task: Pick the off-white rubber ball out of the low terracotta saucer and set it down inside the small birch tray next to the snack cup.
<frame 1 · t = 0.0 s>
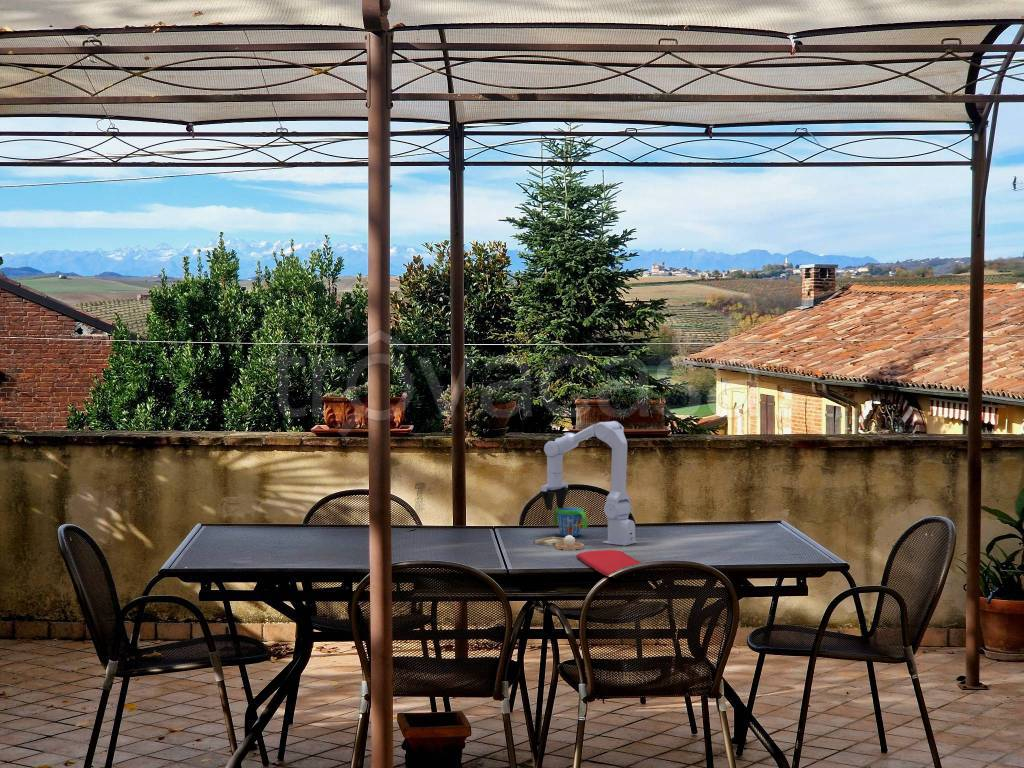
hand: (554, 508, 408), 10 cm above the table, tool pointing down, fingers open, 7 cm apart
snack cup: (569, 536, 408), on the table, touching gripper
tray: (552, 543, 392), on the table
ball: (569, 540, 381), point 2 cm above the table, touching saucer
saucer: (569, 547, 381), on the table
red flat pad: (616, 570, 342), on the table
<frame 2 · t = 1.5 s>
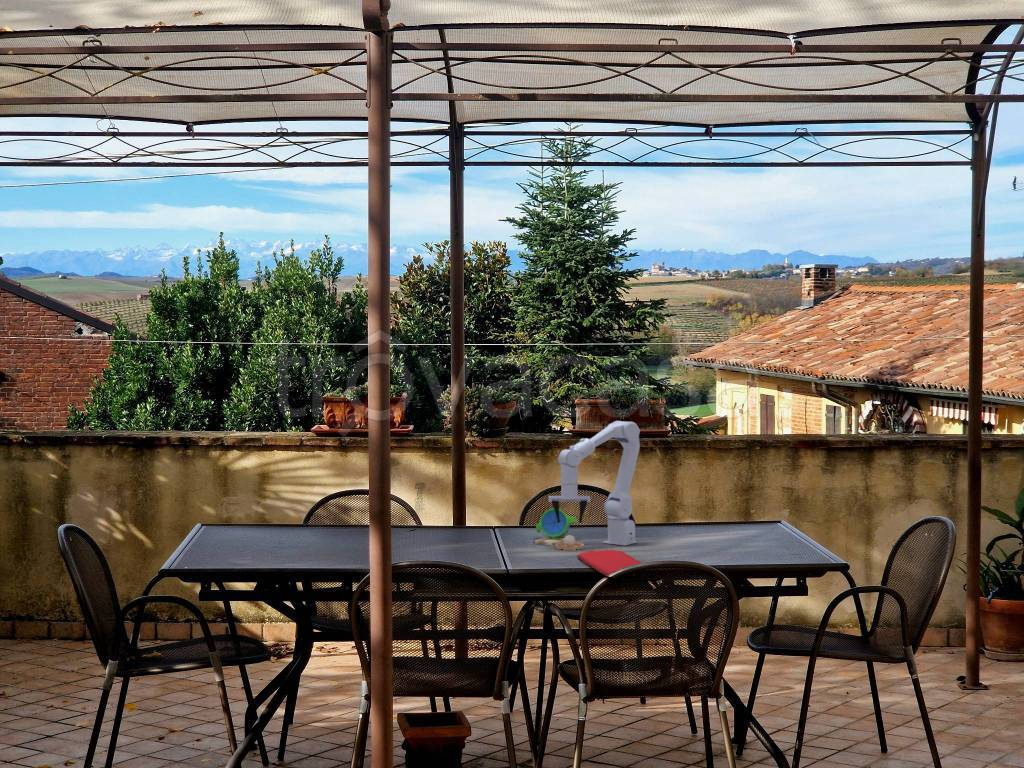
hand: (569, 522, 381), 9 cm above the table, tool pointing down, fingers open, 7 cm apart
snack cup: (560, 527, 406), point 4 cm above the table, touching tray
everything else where it was.
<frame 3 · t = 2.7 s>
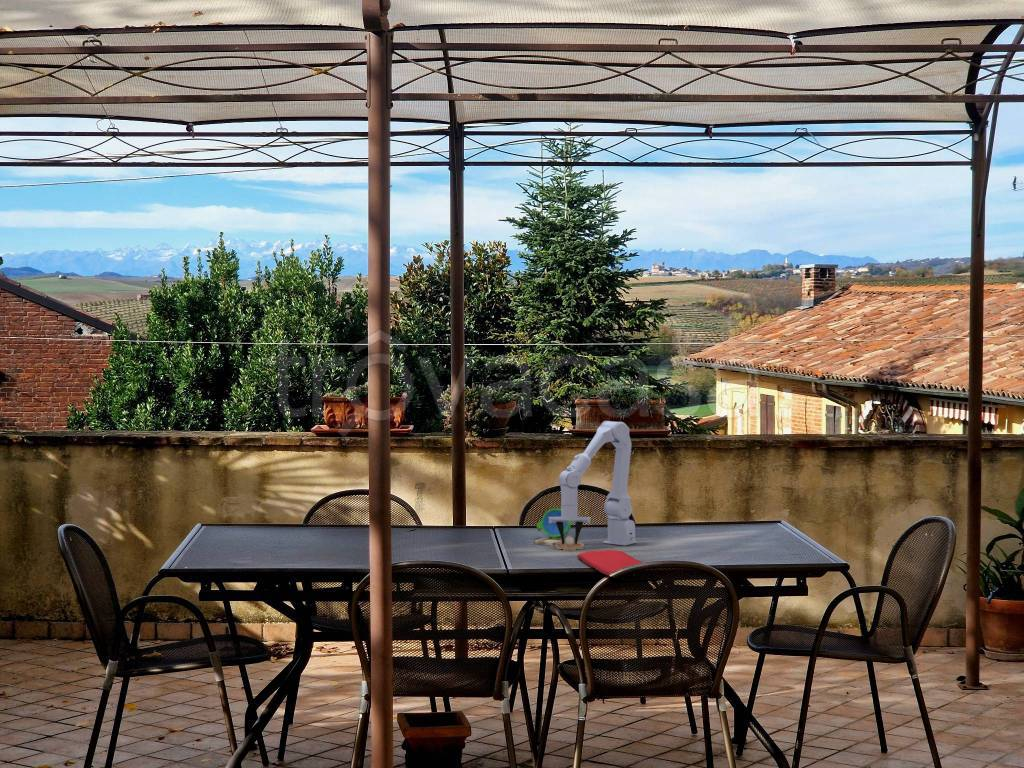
hand: (569, 543, 381), 2 cm above the table, tool pointing down, fingers closed on ball, 4 cm apart
ball: (569, 540, 381), point 2 cm above the table, touching gripper, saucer
everything else where it was.
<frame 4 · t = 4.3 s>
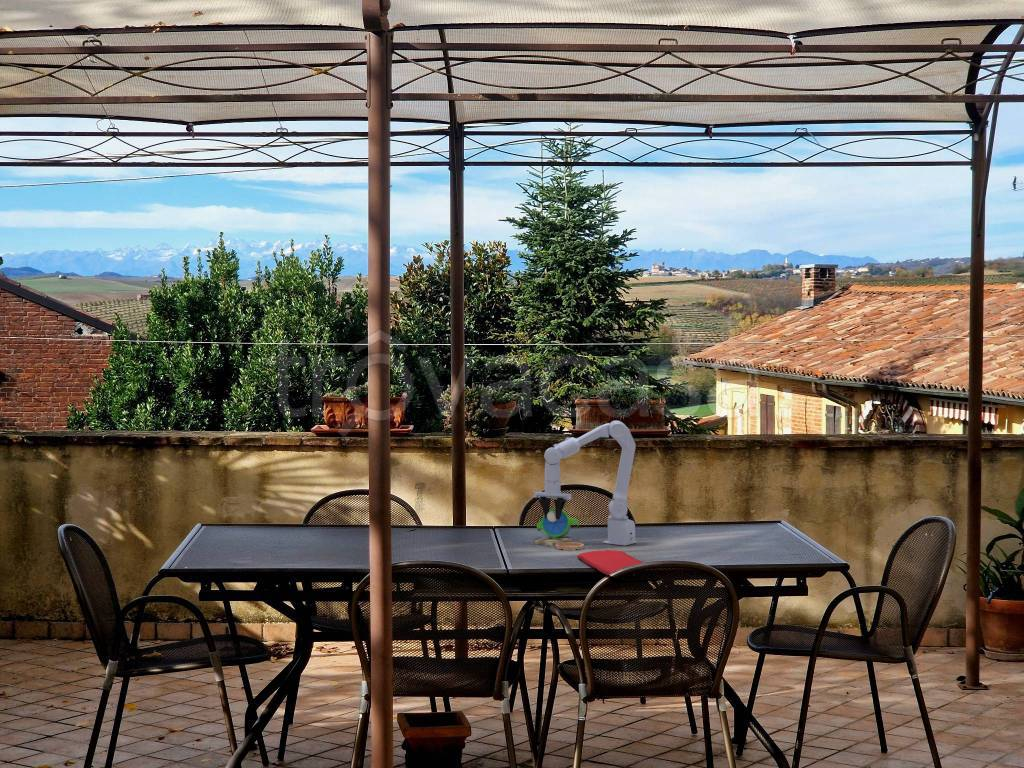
hand: (552, 518, 391), 9 cm above the table, tool pointing down, fingers closed on ball, 4 cm apart
ball: (552, 516, 391), point 10 cm above the table, touching gripper
everything else where it was.
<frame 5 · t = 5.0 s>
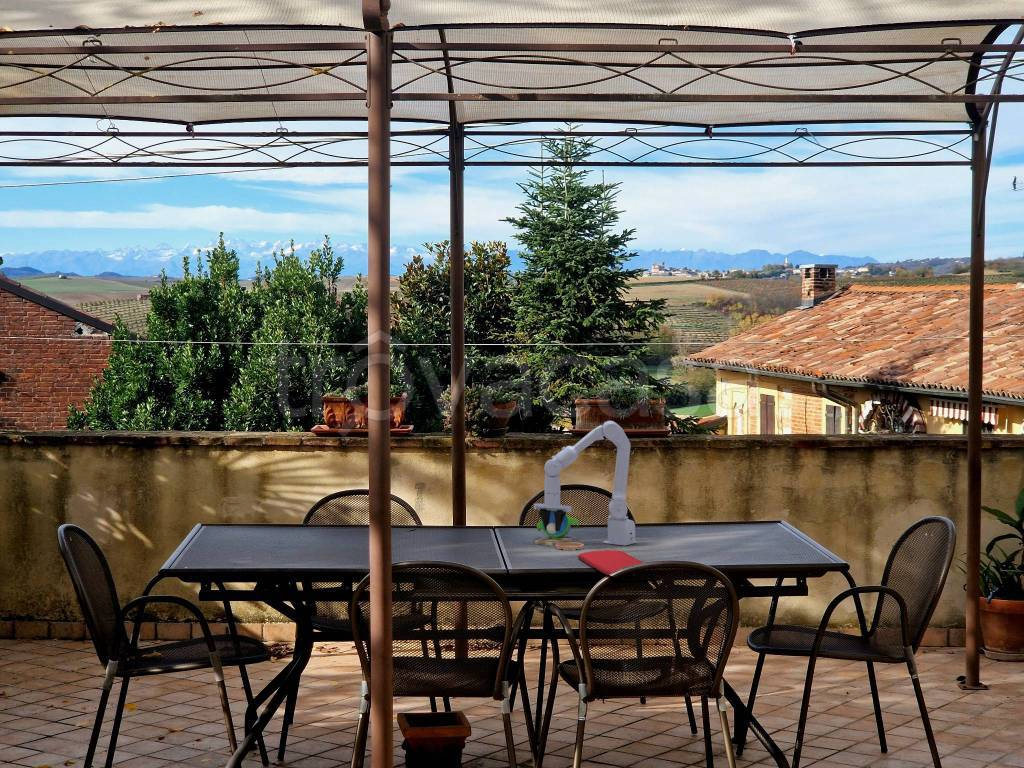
hand: (552, 530, 392), 5 cm above the table, tool pointing down, fingers closed on ball, 4 cm apart
ball: (552, 528, 391), point 5 cm above the table, touching gripper
everything else where it was.
when the fingers open (2 cm above the table, at t = 5.7 s): ball stays where it is, resting on tray.
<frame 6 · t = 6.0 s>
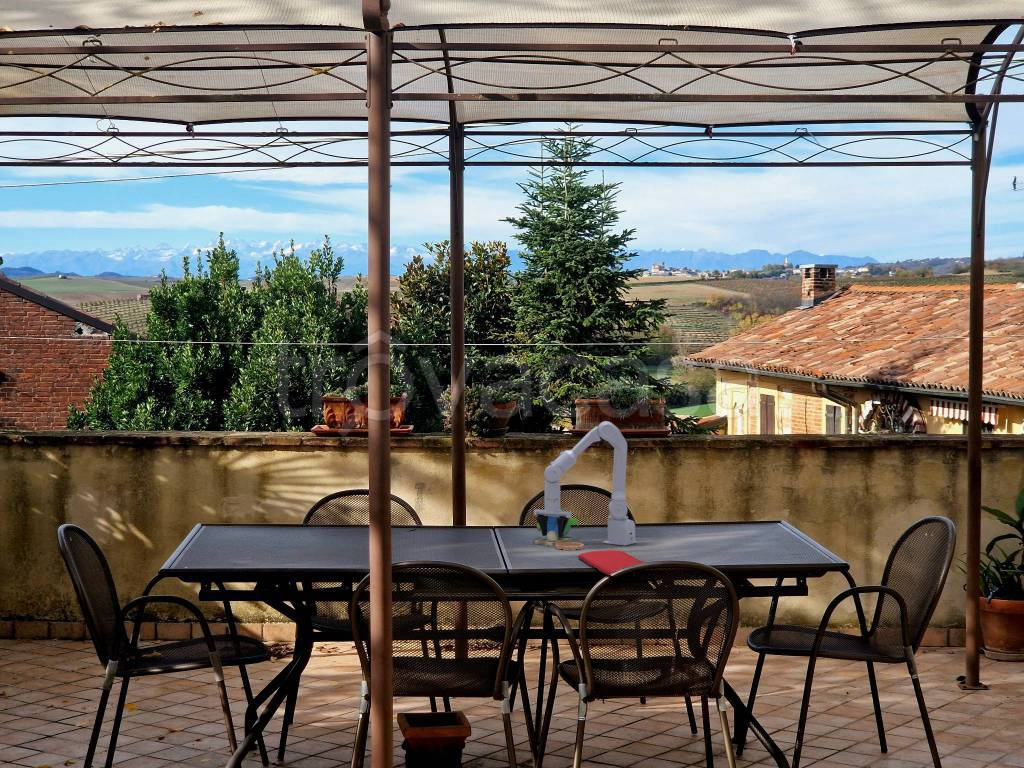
hand: (552, 536, 392), 2 cm above the table, tool pointing down, fingers open, 6 cm apart
ball: (552, 536, 391), point 2 cm above the table, touching tray
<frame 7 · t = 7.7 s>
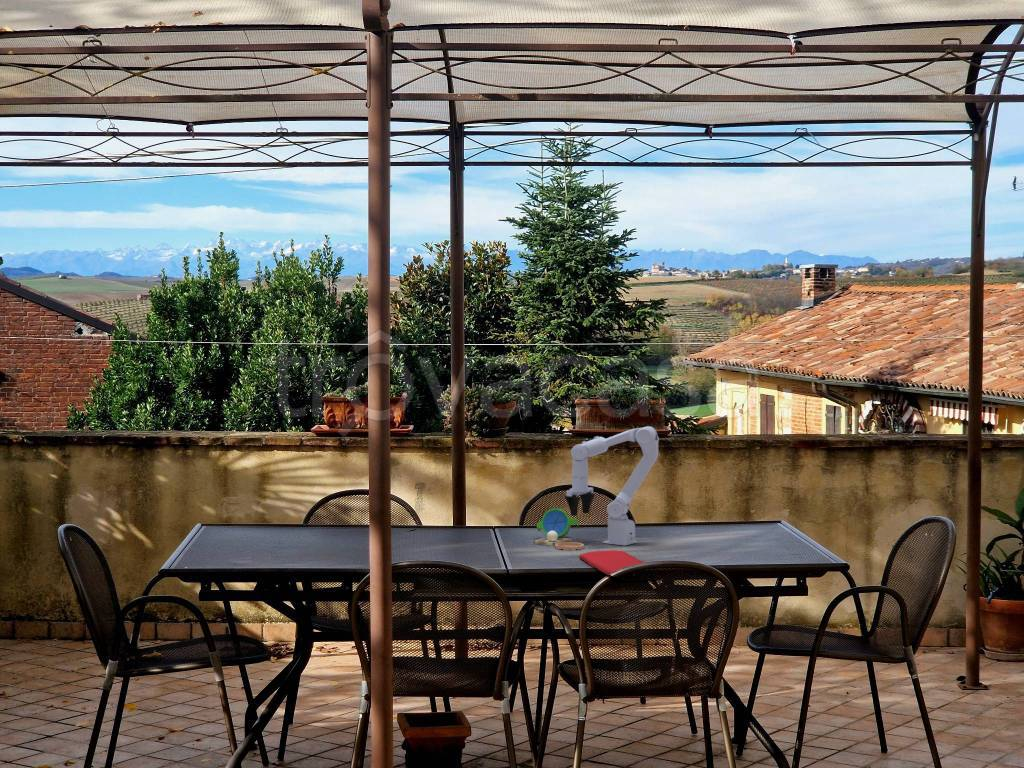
hand: (580, 514, 395), 10 cm above the table, tool pointing down, fingers open, 7 cm apart
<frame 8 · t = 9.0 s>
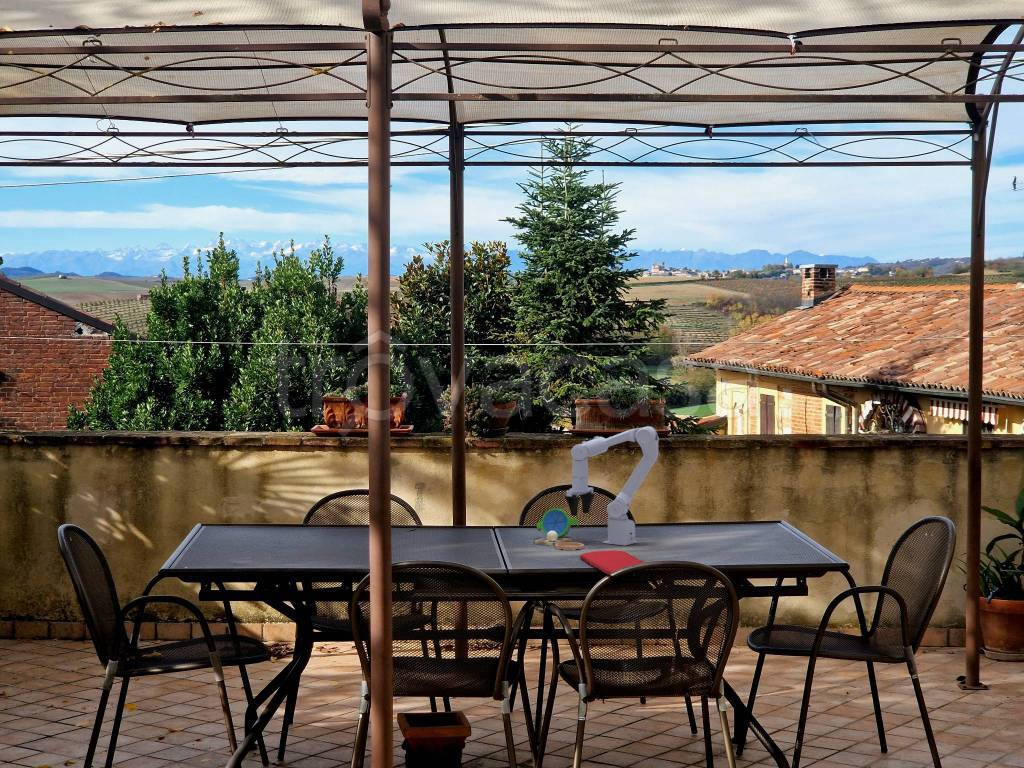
hand: (580, 514, 395), 10 cm above the table, tool pointing down, fingers open, 7 cm apart
at the end: ball inside the target area on the tray (0.2 cm from its centre), point 2.5 cm above the tray's base; the gripper is holding nothing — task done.
